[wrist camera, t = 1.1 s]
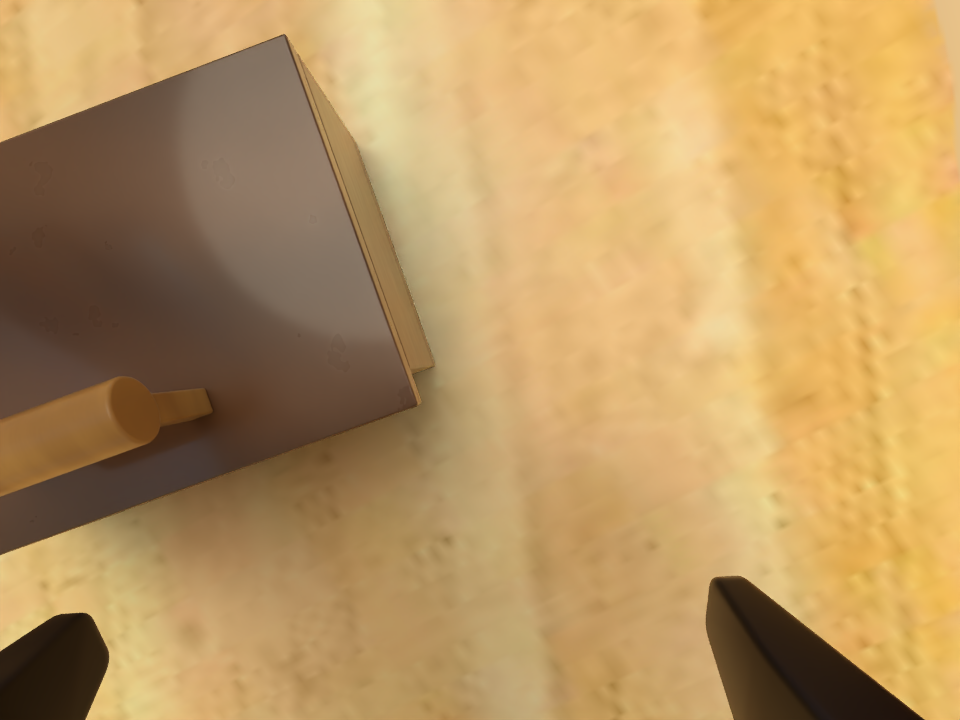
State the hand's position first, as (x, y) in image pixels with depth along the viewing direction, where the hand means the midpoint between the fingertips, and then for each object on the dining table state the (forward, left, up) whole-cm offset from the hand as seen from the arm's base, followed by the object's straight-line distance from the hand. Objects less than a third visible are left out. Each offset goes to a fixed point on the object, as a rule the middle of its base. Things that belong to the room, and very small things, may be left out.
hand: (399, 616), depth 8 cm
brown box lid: (+2, +11, -7) cm, 13 cm away
